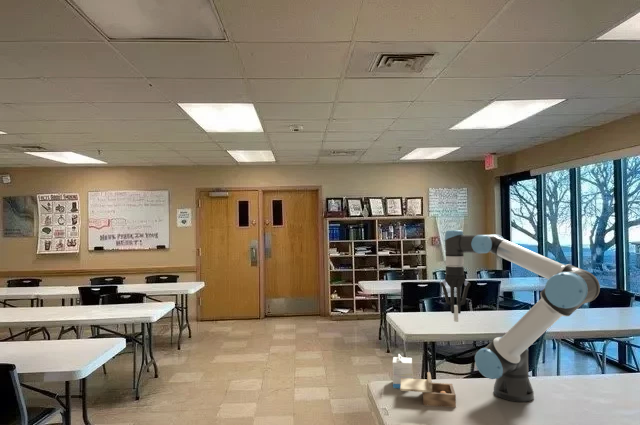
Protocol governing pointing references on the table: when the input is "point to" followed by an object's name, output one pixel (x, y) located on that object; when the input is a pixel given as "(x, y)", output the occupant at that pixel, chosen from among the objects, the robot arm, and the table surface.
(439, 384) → the box
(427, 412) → the table surface
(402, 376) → the ink box
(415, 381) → the lid
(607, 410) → the table surface
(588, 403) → the table surface
